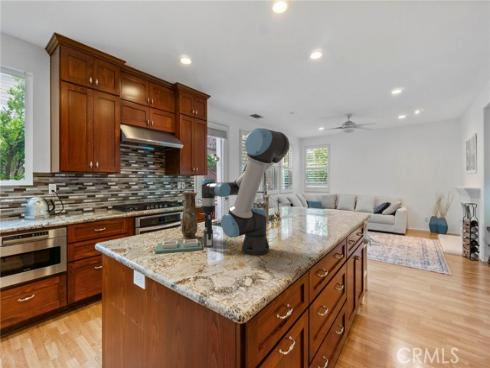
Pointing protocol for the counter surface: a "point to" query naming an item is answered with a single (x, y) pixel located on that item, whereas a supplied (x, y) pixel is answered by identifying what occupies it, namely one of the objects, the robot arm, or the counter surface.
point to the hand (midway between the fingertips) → (207, 241)
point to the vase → (189, 216)
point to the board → (178, 246)
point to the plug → (206, 239)
